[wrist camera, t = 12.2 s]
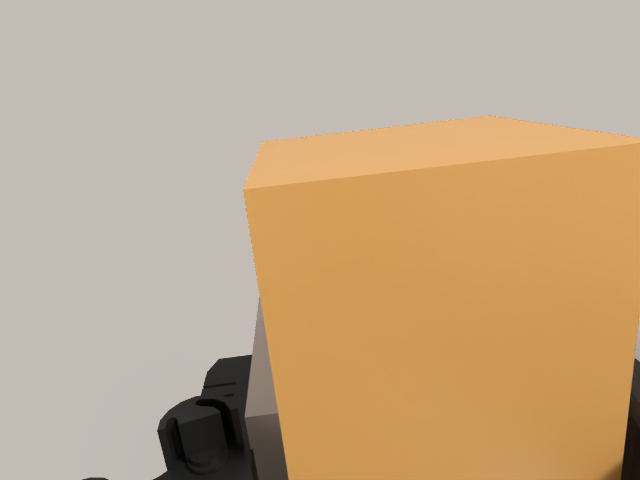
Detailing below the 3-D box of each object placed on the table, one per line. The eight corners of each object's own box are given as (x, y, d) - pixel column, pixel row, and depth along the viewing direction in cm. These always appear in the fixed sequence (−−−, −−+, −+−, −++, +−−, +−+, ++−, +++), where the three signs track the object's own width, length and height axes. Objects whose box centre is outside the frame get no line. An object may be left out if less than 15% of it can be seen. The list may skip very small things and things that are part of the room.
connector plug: (338, 793, 9) (242, 189, 6) (320, 554, 14) (262, 141, 10) (589, 753, 9) (659, 141, 6) (488, 531, 14) (490, 115, 11)
